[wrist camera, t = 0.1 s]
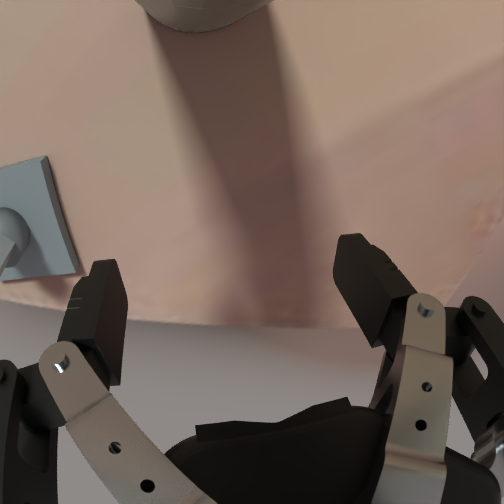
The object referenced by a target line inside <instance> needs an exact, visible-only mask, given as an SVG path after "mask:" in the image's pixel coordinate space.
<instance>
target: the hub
mask: <svg viewBox="0 0 504 504" xmlns="http://www.w3.org/2000/svg"><path fill="white" fill-rule="evenodd" d="M78 265H79V262H78V259H77V257H76V254H75V251H74V248H73V246H72V243H71V240H70V237H69V234H68V231H67V228H66V225H65V221H64V218H63V215H62V212H61V208H60V205H59V202H58V198H57V194H56V191H55V187H54V183H53V179H52V176H51V171H50V167H49V163H48V159H47V155H46V156H42V157H38V158H34V159H30V160H26V161H23V162H19V163H15V164H12V165H8V166H5V167H1V168H0V281H4V280H14V279H23V278H33V277H42V276H52V275H61V274H71V273H76V271H77V268H78Z"/></svg>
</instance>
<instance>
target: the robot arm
mask: <svg viewBox="0 0 504 504" xmlns="http://www.w3.org/2000/svg"><path fill="white" fill-rule="evenodd" d="M135 1H136V2H137V3H138V4H139V5H141V6H142V7H143V8H144V9H145V10H146V11H147V12H148V13H149V14H150V15H151V16H152V17H153V18H154V19H155V20H157V21H158V22H160V23H161V24H163V25H165V26H167V27H170V28H172V29H175V30H179V31H184V32H206V31H213V30H216V29H219V28H222V27H225V26H228V25H230V24H232V23H233V22H235V21H237V20H239V19H240V18H242V17H244V16H246V15H248V14H249V13H251V12H253V11H255V10H257V9H259V8H261V7H262V6H264V5H266V4H268V3H270V2H272V1H274V0H135ZM333 278H334V282H335V284H336V286H337V288H338V289H339V291H340V293H341V295H342V296H343V298H344V300H345V301H346V303H347V305H348V307H349V308H350V310H351V312H352V314H353V315H354V317H355V319H356V321H357V322H358V324H359V326H360V328H361V329H362V331H363V333H364V335H365V336H366V338H367V340H368V342H369V344H370V346H371V347H372V348H374V347H378V346H381V345H384V347H385V349H386V350H385V352H384V354H383V358H382V362H381V367H380V371H379V375H378V379H377V383H376V387H375V390H374V394H373V397H372V400H371V402H370V404H369V407H362V406H351V404H350V402H349V400H348V397H344V398H341V399H337V400H333V401H329V402H325V403H322V404H318V405H314V406H311V407H310V408H308V409H305V410H303V411H301V412H299V413H297V414H295V415H293V416H291V417H289V418H287V419H284V420H282V421H280V422H277V423H263V422H245V421H228V422H221V423H213V424H203V425H195V428H196V435H195V436H192V437H189V438H187V439H185V440H183V441H181V442H179V443H178V444H176V445H174V446H173V447H172V448H171V449H169V450H168V451H167V452H166V453H165V454H163V453H162V452H161V451H160V450H159V449H158V448H157V447H156V446H155V445H154V443H153V442H152V441H151V440H150V439H149V438H148V437H147V436H146V435H145V434H144V432H143V431H142V430H141V429H140V428H139V427H138V426H137V424H135V422H134V421H133V420H132V419H131V417H130V416H129V415H128V414H127V413H126V411H125V410H124V409H123V408H122V407H121V405H120V404H119V403H118V401H117V400H116V399H115V398H114V397H113V395H112V394H111V393H109V388H110V386H116V385H120V381H121V368H122V356H123V346H124V337H125V328H126V320H127V312H128V300H127V294H126V291H125V288H124V284H123V281H122V278H121V275H120V271H119V268H118V265H117V262H116V260H115V259H107V260H99V261H94V262H93V265H92V268H91V271H90V274H89V276H85V277H82V278H81V279H80V280H79V281H78V283H77V284H76V285H75V286H74V288H73V291H72V294H71V297H70V300H69V303H68V306H67V310H66V312H65V316H64V319H63V323H62V326H61V329H60V333H59V336H58V340H57V343H54V344H52V345H50V346H49V347H48V348H47V349H46V350H45V351H44V352H43V354H42V355H41V357H40V360H39V363H36V364H33V365H30V366H27V367H24V368H21V369H17V368H16V366H15V365H14V364H13V363H12V362H11V361H8V360H0V504H58V494H57V442H58V427H61V426H64V425H65V426H66V429H67V431H68V432H69V434H70V436H71V437H72V439H73V440H74V442H75V443H76V445H77V447H78V448H79V450H80V451H81V453H82V454H83V456H84V457H85V459H86V460H87V462H88V463H89V465H90V466H91V467H92V469H93V470H94V472H95V473H96V474H97V476H98V477H99V478H100V480H101V481H102V482H103V483H104V485H105V486H106V488H107V489H108V490H109V491H110V493H111V494H112V495H113V496H114V498H115V499H116V500H117V501H118V502H119V504H501V498H502V497H503V496H504V323H503V322H502V321H501V319H500V318H499V317H498V315H497V314H496V313H495V311H494V310H493V309H492V307H491V306H490V305H489V304H488V303H487V302H486V301H484V300H483V299H481V298H479V297H475V296H469V297H466V298H465V299H464V300H463V302H462V304H461V306H460V308H455V307H444V306H443V305H442V303H441V302H440V301H439V300H438V299H436V298H435V297H433V296H431V295H429V294H425V293H418V292H417V291H416V290H415V289H414V287H413V286H412V285H411V284H410V282H409V281H408V280H407V279H406V277H405V276H404V275H403V274H402V272H401V271H400V270H398V269H397V266H396V265H395V264H394V263H393V262H392V260H391V259H390V258H389V257H388V256H387V254H386V253H385V252H384V251H382V250H381V249H379V248H378V247H376V246H374V245H370V243H369V242H368V241H367V240H366V239H365V237H364V236H363V235H362V234H360V233H355V234H345V235H341V236H340V237H339V239H338V244H337V250H336V255H335V260H334V266H333ZM475 348H476V349H477V351H478V352H479V354H480V355H481V357H482V358H483V360H484V362H485V363H486V365H487V367H488V376H487V379H486V380H484V378H483V376H482V374H481V373H480V371H479V370H478V368H477V366H476V364H475V363H474V361H473V360H472V358H471V356H470V355H471V354H472V352H473V351H474V349H475ZM451 396H452V397H453V399H454V401H455V403H456V405H457V406H458V409H459V411H460V413H461V415H462V417H463V419H464V421H465V423H466V425H467V427H468V429H469V431H470V433H471V436H472V438H473V440H474V442H475V446H474V452H473V453H472V455H471V459H470V458H468V457H466V456H464V455H462V454H460V453H458V452H456V451H454V450H452V449H450V448H448V447H446V440H447V433H448V425H449V417H450V407H451Z"/></svg>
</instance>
